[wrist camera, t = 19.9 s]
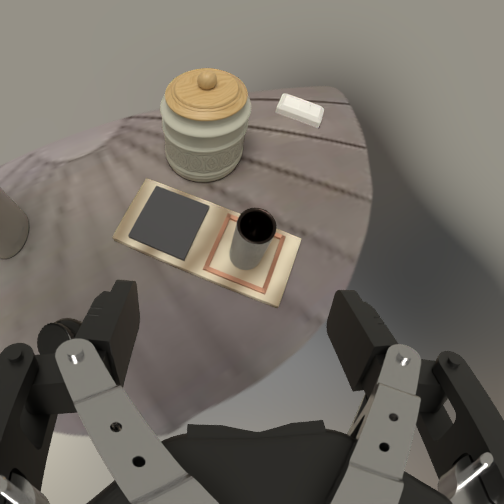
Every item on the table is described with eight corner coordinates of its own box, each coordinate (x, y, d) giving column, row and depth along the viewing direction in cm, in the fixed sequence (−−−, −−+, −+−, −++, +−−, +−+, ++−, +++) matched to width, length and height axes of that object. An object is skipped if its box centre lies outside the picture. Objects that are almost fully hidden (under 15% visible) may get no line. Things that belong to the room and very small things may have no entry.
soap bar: (317, 129, 57) (321, 121, 54) (274, 113, 57) (277, 104, 54) (321, 114, 59) (325, 106, 56) (280, 99, 58) (283, 90, 56)
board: (114, 240, 43) (111, 235, 41) (147, 182, 47) (145, 176, 45) (276, 308, 43) (279, 305, 42) (299, 241, 47) (302, 237, 46)
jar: (232, 121, 54) (244, 45, 37) (249, 177, 50) (270, 100, 34) (162, 131, 51) (154, 53, 34) (170, 190, 47) (160, 112, 31)
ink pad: (129, 237, 42) (128, 235, 42) (156, 188, 46) (156, 185, 45) (184, 261, 42) (183, 259, 42) (209, 208, 46) (209, 205, 45)
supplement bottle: (99, 317, 39) (64, 301, 28) (122, 358, 38) (93, 358, 27) (63, 339, 37) (21, 330, 26) (86, 381, 36) (47, 386, 24)
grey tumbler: (247, 276, 43) (260, 252, 34) (222, 256, 44) (228, 226, 34) (267, 253, 45) (284, 224, 35) (242, 234, 45) (253, 200, 36)
